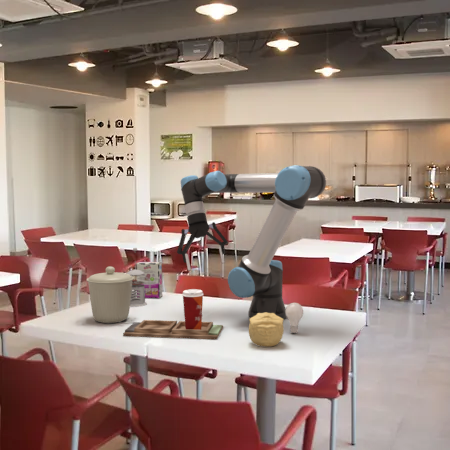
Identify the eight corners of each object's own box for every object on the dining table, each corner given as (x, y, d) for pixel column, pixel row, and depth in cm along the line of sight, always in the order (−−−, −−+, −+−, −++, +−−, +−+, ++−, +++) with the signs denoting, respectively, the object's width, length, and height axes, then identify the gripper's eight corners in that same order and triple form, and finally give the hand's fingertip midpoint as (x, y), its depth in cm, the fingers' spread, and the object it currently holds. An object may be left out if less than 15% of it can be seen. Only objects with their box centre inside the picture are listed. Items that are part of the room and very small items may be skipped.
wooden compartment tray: (223, 327, 218) (223, 321, 218) (216, 339, 202) (216, 332, 202) (136, 325, 222) (136, 318, 222) (123, 336, 207) (123, 329, 206)
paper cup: (203, 332, 207) (203, 293, 206) (181, 332, 207) (181, 293, 206) (204, 326, 215) (204, 288, 214) (183, 326, 215) (182, 288, 214)
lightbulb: (298, 336, 206) (298, 305, 205) (282, 334, 209) (282, 303, 208) (306, 332, 211) (306, 302, 210) (289, 330, 214) (290, 300, 213)
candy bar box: (162, 296, 277) (162, 261, 276) (159, 298, 272) (159, 263, 271) (139, 295, 279) (139, 261, 278) (136, 298, 274) (135, 262, 273)
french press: (128, 301, 265) (127, 246, 264) (153, 302, 264) (152, 246, 262) (121, 306, 256) (120, 248, 254) (147, 307, 254) (146, 249, 252)
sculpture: (249, 349, 190) (249, 316, 190) (247, 339, 202) (247, 308, 201) (285, 349, 190) (285, 316, 190) (281, 339, 202) (281, 308, 202)
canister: (111, 313, 243) (110, 262, 241) (144, 318, 233) (143, 265, 231) (77, 321, 228) (76, 267, 227) (110, 328, 218) (109, 271, 216)
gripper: (227, 209, 238) (238, 260, 234) (167, 223, 240) (177, 274, 236) (225, 205, 230) (236, 258, 226) (163, 219, 232) (173, 272, 228)
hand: (206, 266), depth 231 cm, fingers open, 13 cm apart
